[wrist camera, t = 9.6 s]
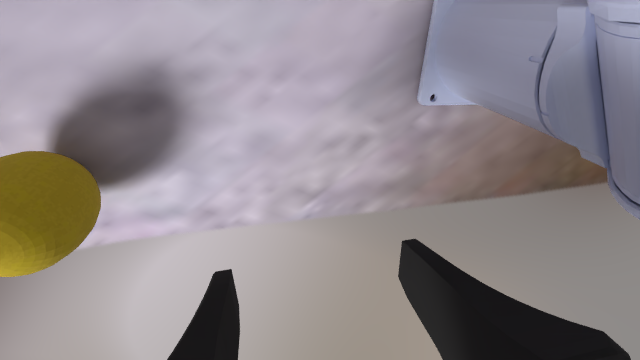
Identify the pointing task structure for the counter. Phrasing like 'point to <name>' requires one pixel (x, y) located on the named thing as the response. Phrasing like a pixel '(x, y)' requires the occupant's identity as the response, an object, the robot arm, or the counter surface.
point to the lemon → (43, 210)
